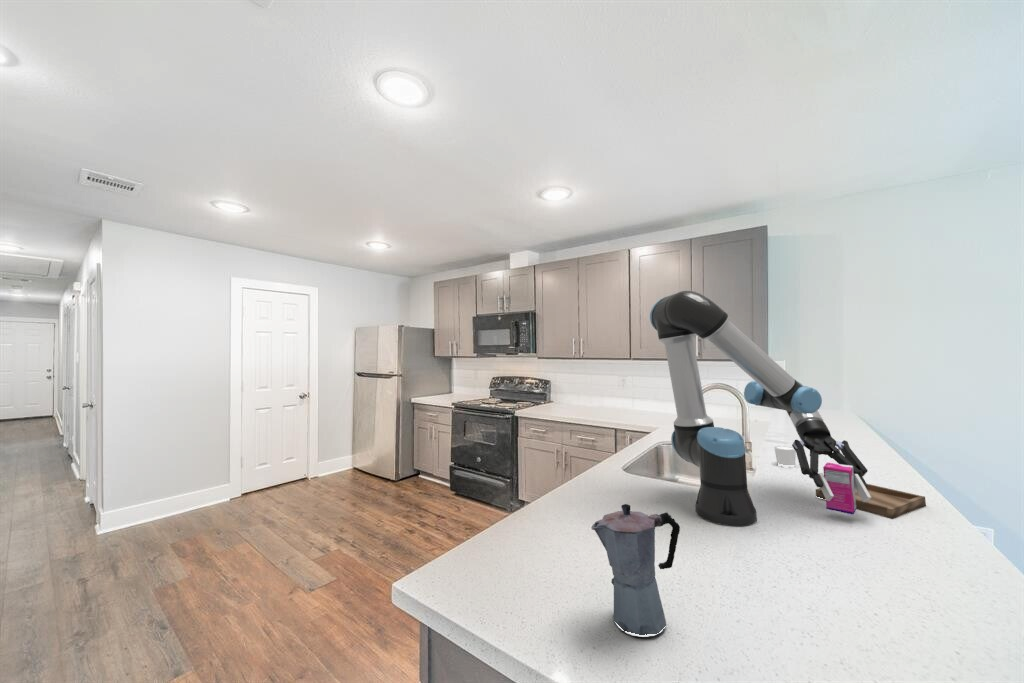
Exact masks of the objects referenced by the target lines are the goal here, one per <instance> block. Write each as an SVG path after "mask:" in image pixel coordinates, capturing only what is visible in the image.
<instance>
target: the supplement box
mask: <svg viewBox="0 0 1024 683" xmlns="http://www.w3.org/2000/svg"><path fill="white" fill-rule="evenodd" d="M822 470H823V475H824V477H825V479H826V481H827V483H828V485H829V487H830V489H831V491H832V493H833V495H834V497H833V498H832V499H831V500H830V501H827V500H825V509H826V510H831V511H834V512H839V513H843V514H848V515H852V516H854V515H855V513H856V510H858V509H857V508H856V497H855V484H854V471H853V466H851V465H842V464H838V463H835V462H833V463H832V462H826V463H825V465H823V468H822Z"/></svg>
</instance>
